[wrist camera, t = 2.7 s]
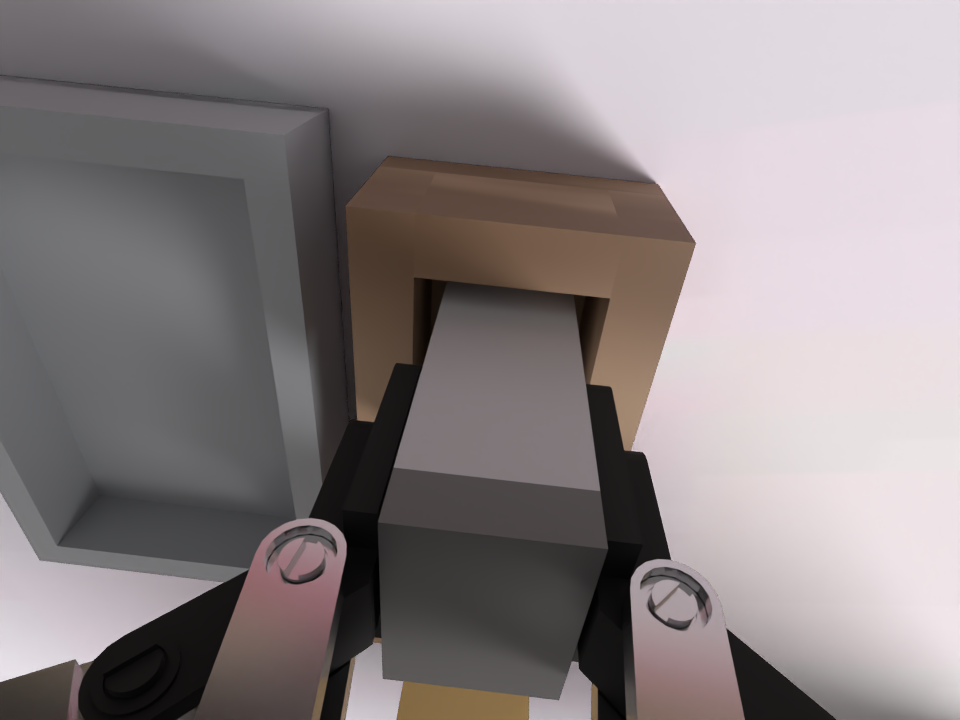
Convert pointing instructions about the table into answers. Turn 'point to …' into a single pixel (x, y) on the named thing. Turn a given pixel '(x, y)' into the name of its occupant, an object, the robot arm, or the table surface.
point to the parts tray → (165, 324)
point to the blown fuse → (493, 500)
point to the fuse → (459, 704)
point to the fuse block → (514, 265)
